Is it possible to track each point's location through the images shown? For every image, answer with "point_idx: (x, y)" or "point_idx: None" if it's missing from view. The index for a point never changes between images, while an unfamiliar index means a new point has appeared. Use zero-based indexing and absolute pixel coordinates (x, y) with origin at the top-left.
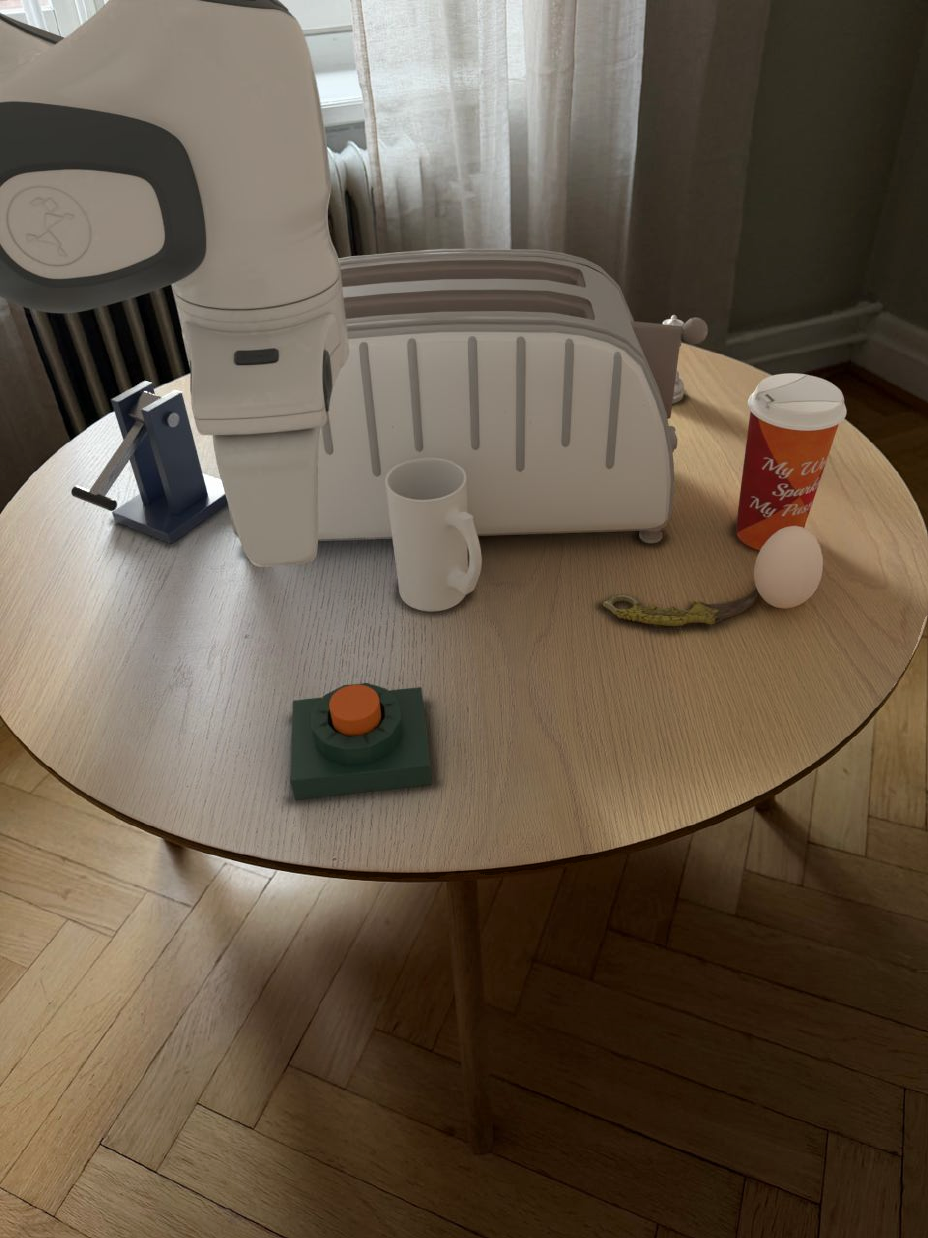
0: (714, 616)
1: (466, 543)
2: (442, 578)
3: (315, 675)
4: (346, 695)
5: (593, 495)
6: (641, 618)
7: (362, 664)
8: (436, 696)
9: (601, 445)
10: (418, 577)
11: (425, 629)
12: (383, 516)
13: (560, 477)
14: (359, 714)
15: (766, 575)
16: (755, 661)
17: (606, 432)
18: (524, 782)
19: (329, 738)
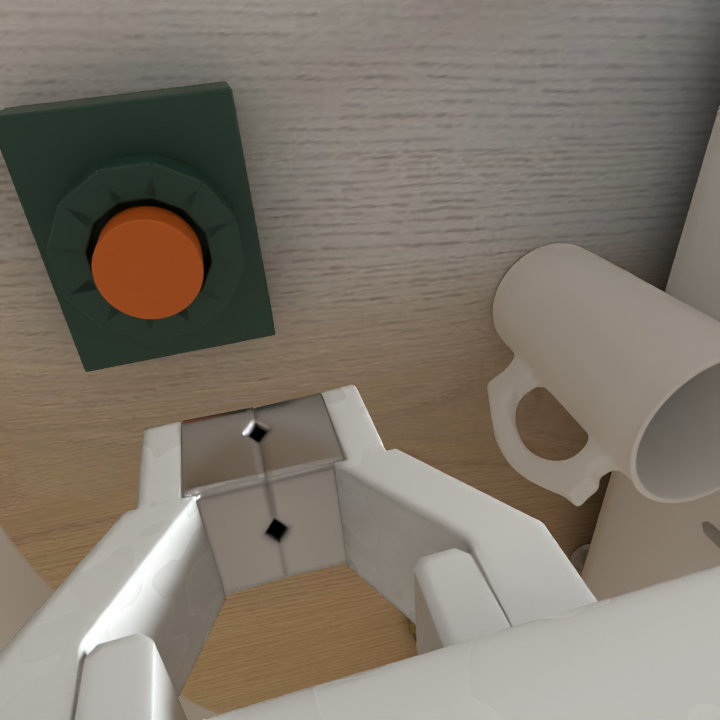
0: (414, 634)
1: (539, 459)
2: (524, 356)
3: (352, 104)
4: (166, 253)
5: (632, 573)
6: None
7: (376, 196)
8: (292, 331)
9: None
10: (533, 318)
11: (452, 296)
12: (717, 244)
13: (671, 563)
14: (111, 288)
15: None
16: (347, 656)
17: None
18: (119, 465)
19: (72, 214)
